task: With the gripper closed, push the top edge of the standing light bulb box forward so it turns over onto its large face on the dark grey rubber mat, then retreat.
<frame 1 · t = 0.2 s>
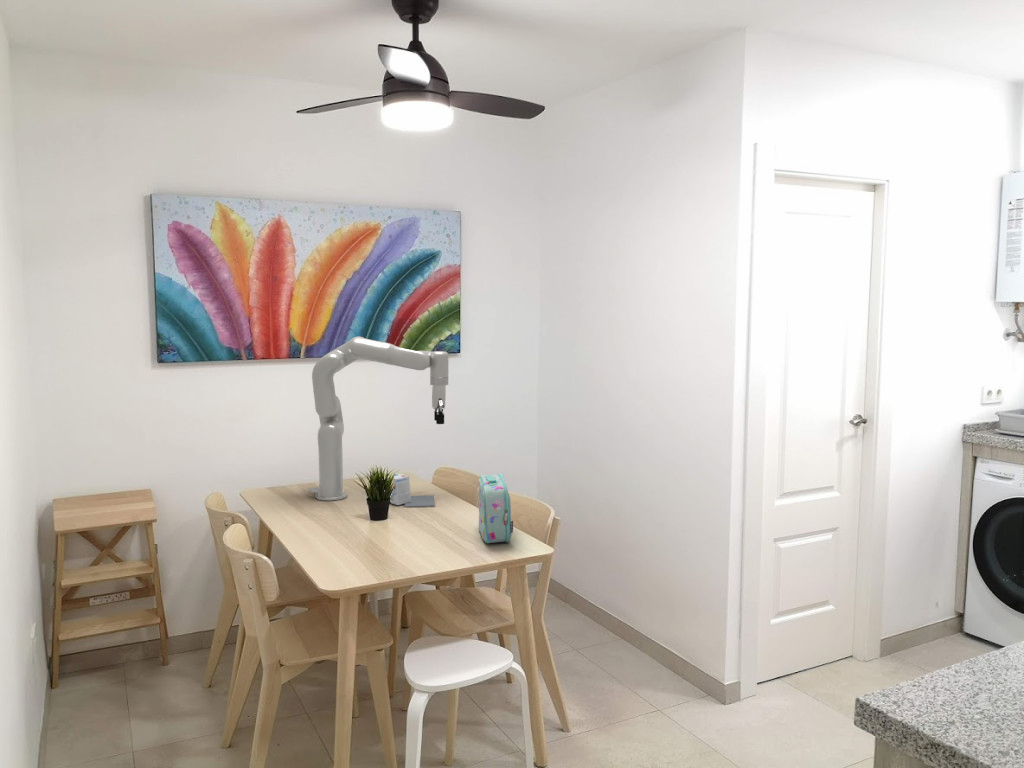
hand: (439, 422, 325), 31 cm above the table, tool pointing down, fingers open, 9 cm apart
mat: (419, 501, 317), on the table
light bulb box: (397, 502, 316), on the table, touching mat
lunch box: (494, 536, 273), on the table
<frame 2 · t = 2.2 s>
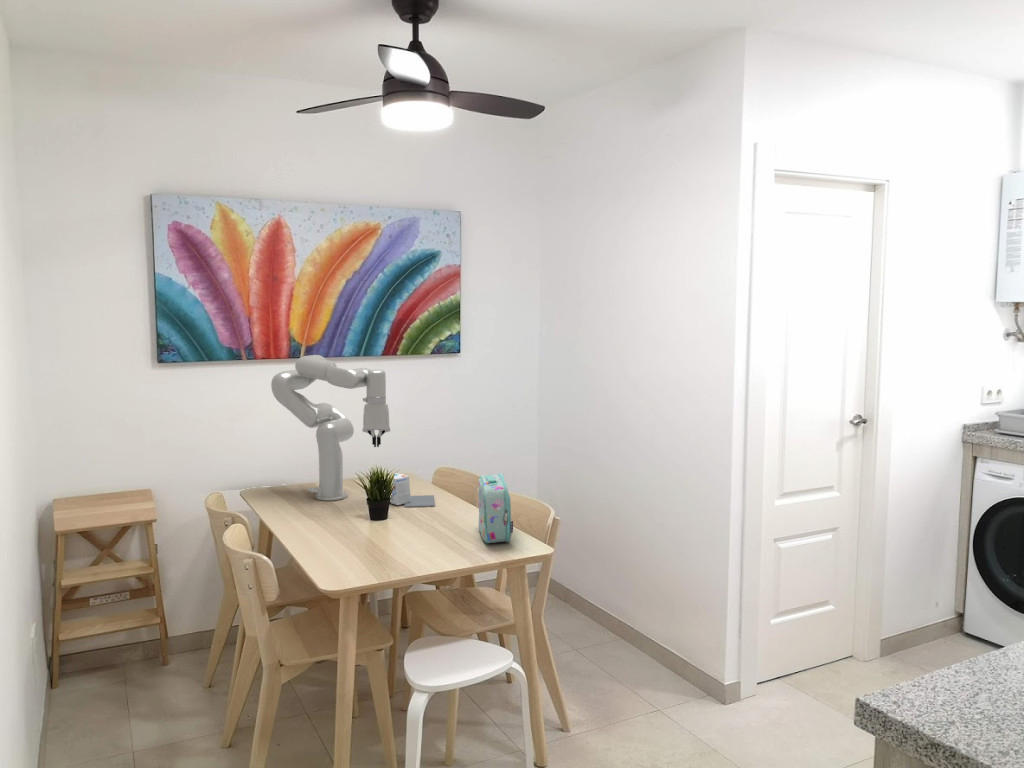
hand: (376, 446, 312), 23 cm above the table, tool pointing down, fingers closed
nothing on the table moved.
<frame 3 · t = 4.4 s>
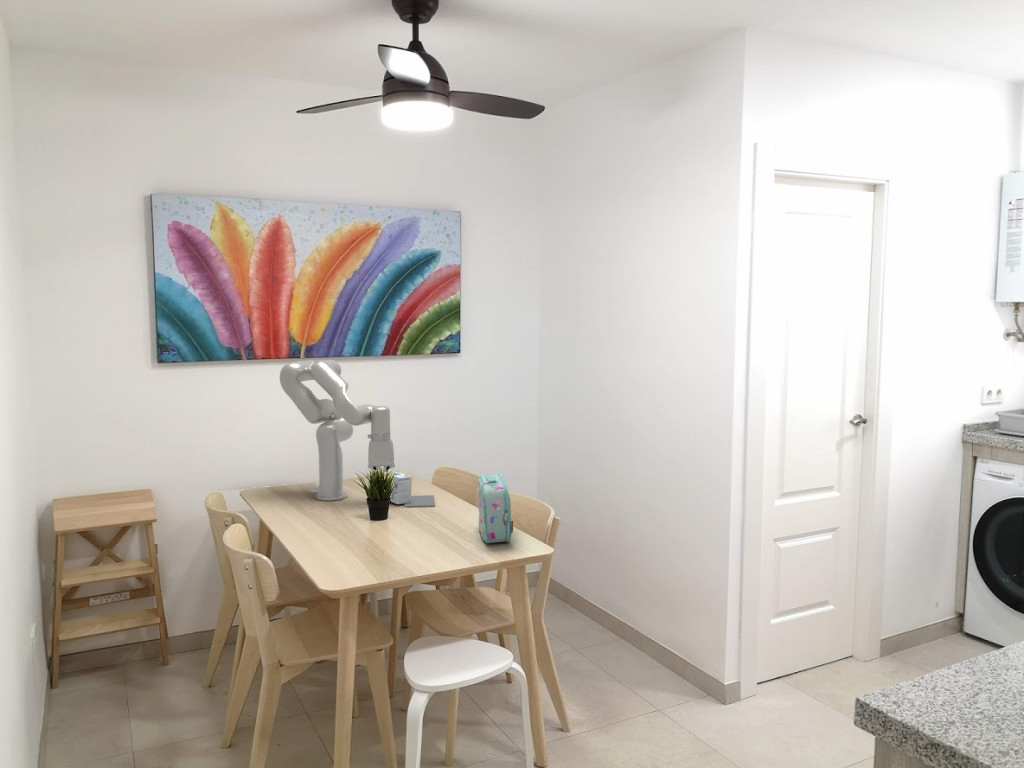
hand: (381, 482, 314), 8 cm above the table, tool pointing down, fingers closed
light bulb box: (397, 501, 316), point 1 cm above the table, touching mat
everything else where it was.
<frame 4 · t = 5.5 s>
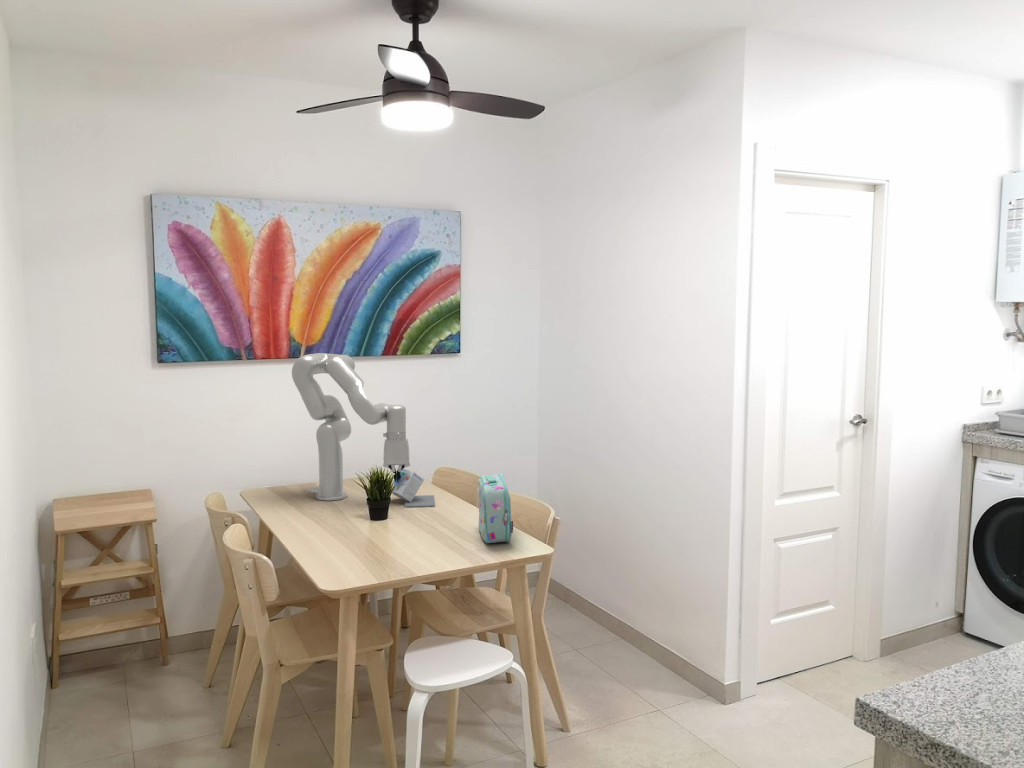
hand: (396, 480, 315), 9 cm above the table, tool pointing down, fingers closed
light bulb box: (398, 496, 316), point 2 cm above the table, touching gripper, mat
everything else where it was.
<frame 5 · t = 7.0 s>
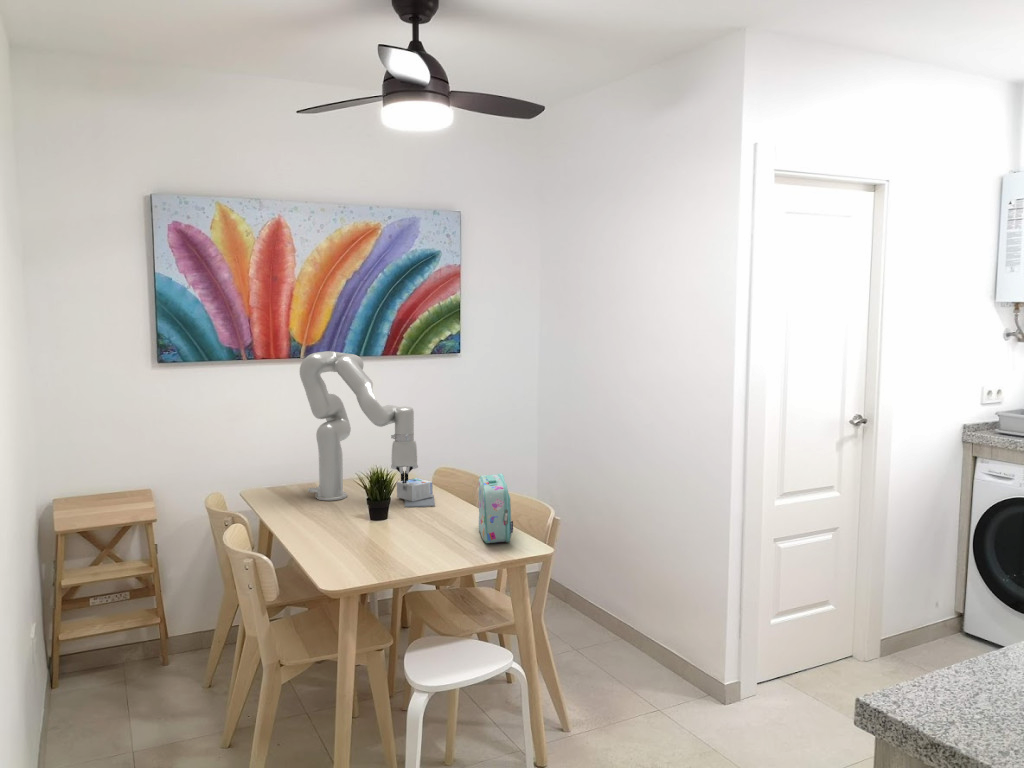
hand: (404, 482, 315), 8 cm above the table, tool pointing down, fingers closed
light bulb box: (403, 492, 317), point 4 cm above the table, touching mat
everything else where it was.
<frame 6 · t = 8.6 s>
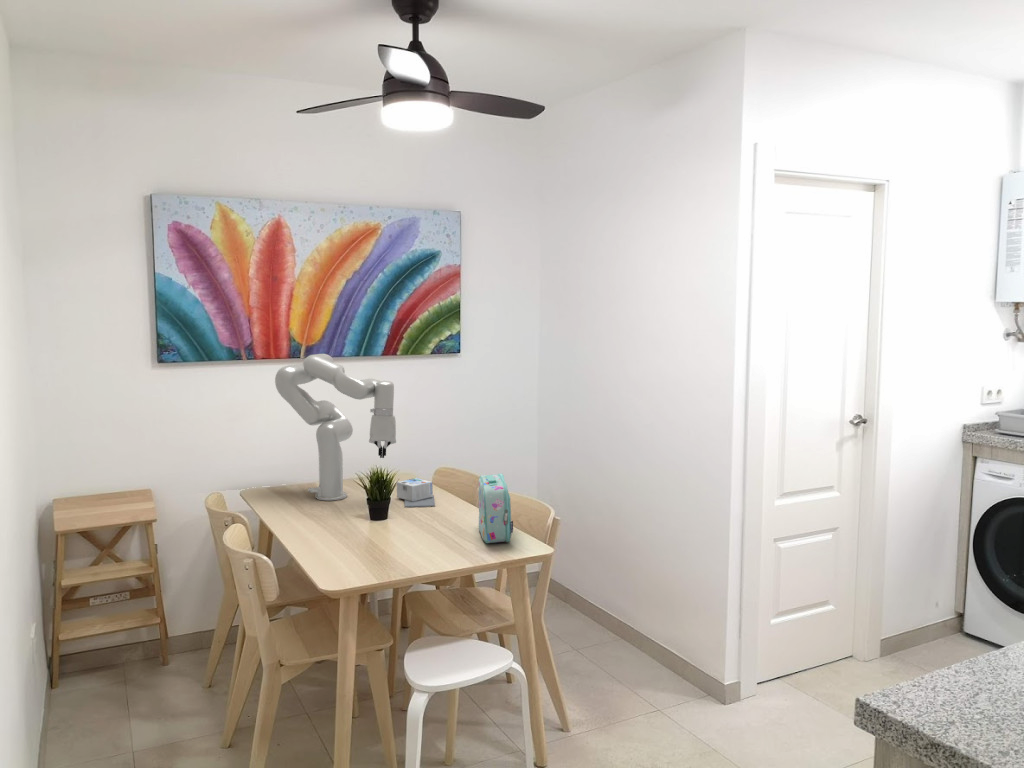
hand: (382, 457, 313), 19 cm above the table, tool pointing down, fingers closed
nothing on the table moved.
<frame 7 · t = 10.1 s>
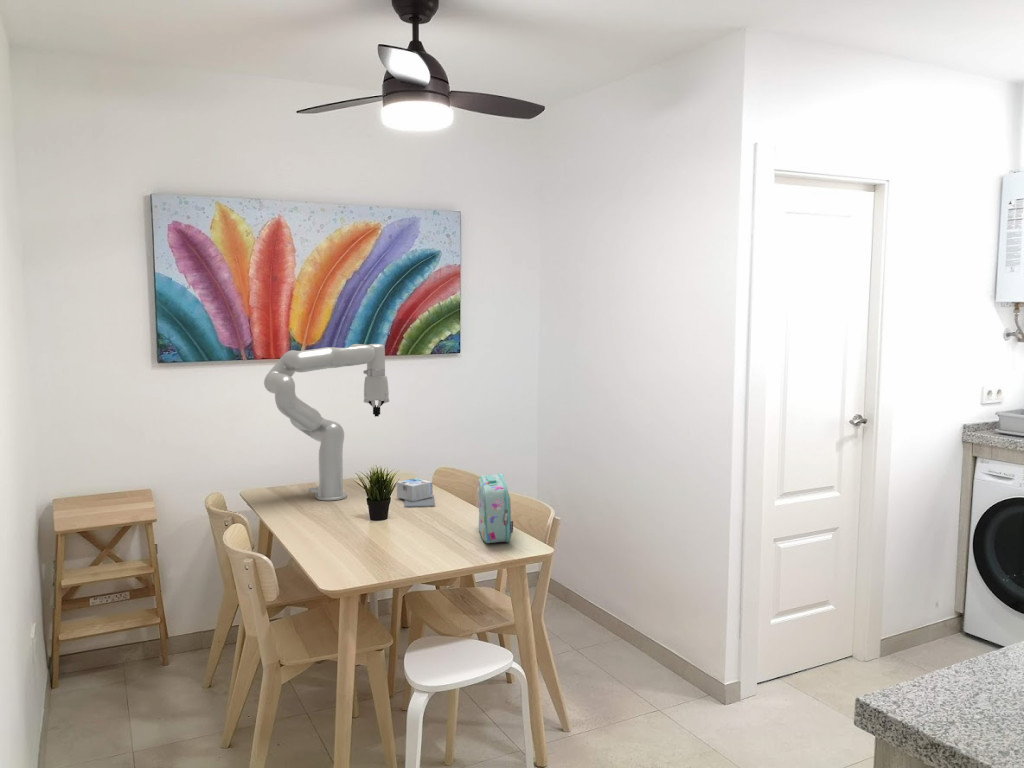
hand: (376, 416, 333), 32 cm above the table, tool pointing down, fingers closed
nothing on the table moved.
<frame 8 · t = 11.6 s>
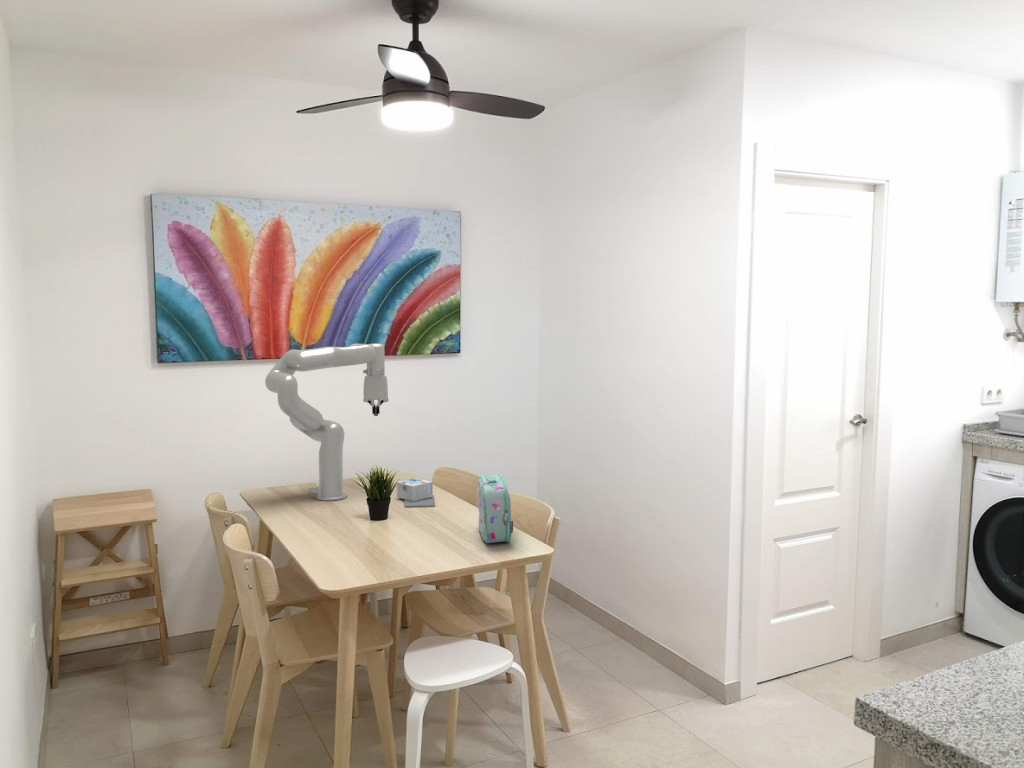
hand: (376, 415, 334), 32 cm above the table, tool pointing down, fingers closed
nothing on the table moved.
at the end: light bulb box tilted 89°; light bulb box inside the target area (8.0 cm from its centre), point 3.8 cm above the table; light bulb box moved 5.0 cm from its start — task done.
